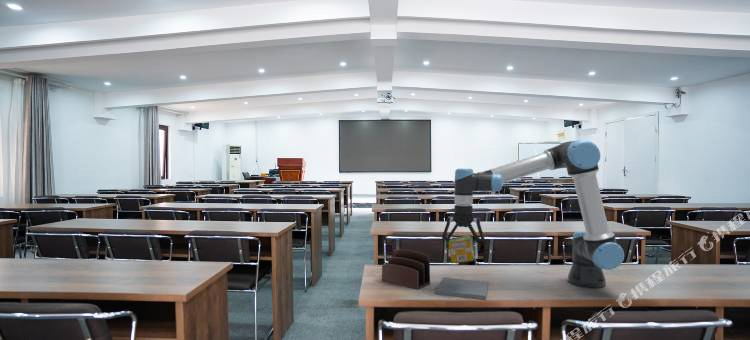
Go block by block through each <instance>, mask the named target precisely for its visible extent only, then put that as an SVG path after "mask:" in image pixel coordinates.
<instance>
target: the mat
mask: <svg viewBox="0 0 750 340" xmlns="http://www.w3.org/2000/svg"><path fill="white" fill-rule="evenodd" d="M488 290H489V281H485V280H484V281H483V280H476V279H474V280H473V279H464V278H456V277H455V278H453V277H442V278H441V280H440V281H439V284H438V285H437V287H436V289H435V293H434V295H439V296H440V295H441V296H447V295H448V297H457V296H460V297H459V298H466V297H468V298H470V299H475V298H478V299H479V300H485V299H486V300H487V295H488ZM478 299H477V300H478Z"/></svg>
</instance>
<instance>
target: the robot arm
mask: <svg viewBox="0 0 750 340" xmlns="http://www.w3.org/2000/svg"><path fill="white" fill-rule="evenodd" d="M600 160H601V151H600V149H599V147H598V146H597V145H596V144H595V143H593V142H592V141H590V140H585V139H576V140H571V141H565V142H562V143H560V144H558V145H556V146H553V147H550V148H548V149H544V150H543V152H542V153H540V154H536V155H533V156H529V157H526V158H522V159H520V160H517V161H513V162H510V163H508V164H504V165H500V166H497V167H495V168H491V169H487V170H485V171H484V170H483V171H479V172H475V173H474V170H473V168H456V170H455V171H454V207H453V208H454V209H453V210H454V212H453V213H454V215H453V216H447V217H446V224H445V227H444V230H443V232H442V236H441V239H442V240H445V247H446V249H449V247H448V241H449V240H450V239H451V238H452V237H453V235H454V233H455V231H456V230H457V229H458V227H459V228H468V229H469V230H470V232H471V234H472V237H474V238H473V239H475V243H474V248H475V258H474V260H477V259H478V251H480V250H481V243H484V242H485V240H486V239H485V238H486V237H485V236H484V232H483V229H482V226H481V218H480V217H474V216H473V208H474V207H473V201H474V199H473V198H474V195H473V194H474V193H473V192H500V191H502V188H503V184H504V183H508V182H510V181H514V180H517V179H521V178H524V177H527V176H531V175H534V174H536V173H537V174H538V173H541V172H544V171H547V170H549V171H554V170H559V169H566V171H567V175H568V176H569V177H570V178H571V179H573V183H574V188H575V192H576V195H577V200H578V206H579V208H580V213H581V217H582V220H583V221H582V222H583V225H584V230H585V231H574V233H573V235H572V239H571V240H572V264H571V267H570V269H569V272H568V275H567V281H568V283H570V284H572V285H576V286H579V287H584V288H595V289H596V288H597V289H599V288H604V287H606V285H607V284H606V283H607V281H606V277H605V274H604V270H605V271H607V270H608V271H612V270H615V269H617V268H618V267H620V266H621V264H622V263H623V261H624V259H625V252H624V249H623V248H622V247H621V245H620V244H618V243H617V239H616V234H615V232H612V231H611V230H610V229H609V225H608V220H607V216H606V212H605V207H604V203H603V200H602V195H601V191H600V187H599V181H598V178H597V173H598V172H599V169H600V167H599V164H598V163H599V162H600ZM452 221H453V222H455V225H454V226H453V228H451V231H450V232H449V234H448V231H449V228H450V225H451V222H452ZM473 221H474V223H475V224H476V227H477V230H478V234H479V235H478V234H477V232H476V230H475V229H474V227H473V225H472V223H473ZM447 235H448V236H447ZM448 257H449V258H451V257H450V252H449V251H448Z"/></svg>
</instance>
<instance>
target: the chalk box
mask: <svg viewBox="0 0 750 340" xmlns="http://www.w3.org/2000/svg"><path fill="white" fill-rule="evenodd" d="M473 237H474V236H473V234H472V235H471V234H470V235H464V236H463V235H462V236H454V237H453V236H452V237H451V238H450V239H449V241H448V247H449V248H448V253H449V252H450V257H449V258H450V261H451V263H452V264H461V263H470V262H474V260H475V243H474V238H473Z"/></svg>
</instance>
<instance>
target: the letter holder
mask: <svg viewBox="0 0 750 340" xmlns="http://www.w3.org/2000/svg"><path fill="white" fill-rule="evenodd" d="M430 259H431V257H430V255H428V254H427V253H424V252H422V251H421V252H420V251H416V250H413V249H412V250H411V249H402V248H397V249H396V248H395V249H393V256H389V257H388V258H387V263H383V264H382V266H381V282H385V283H390V284H394V285H397V286H403V287H407V288H410V289H411V288H412V289H415V290H420V289H422V288H424V287H427V286H429V285H431V273H430V272H431V267H430V265H431V263H430Z"/></svg>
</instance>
